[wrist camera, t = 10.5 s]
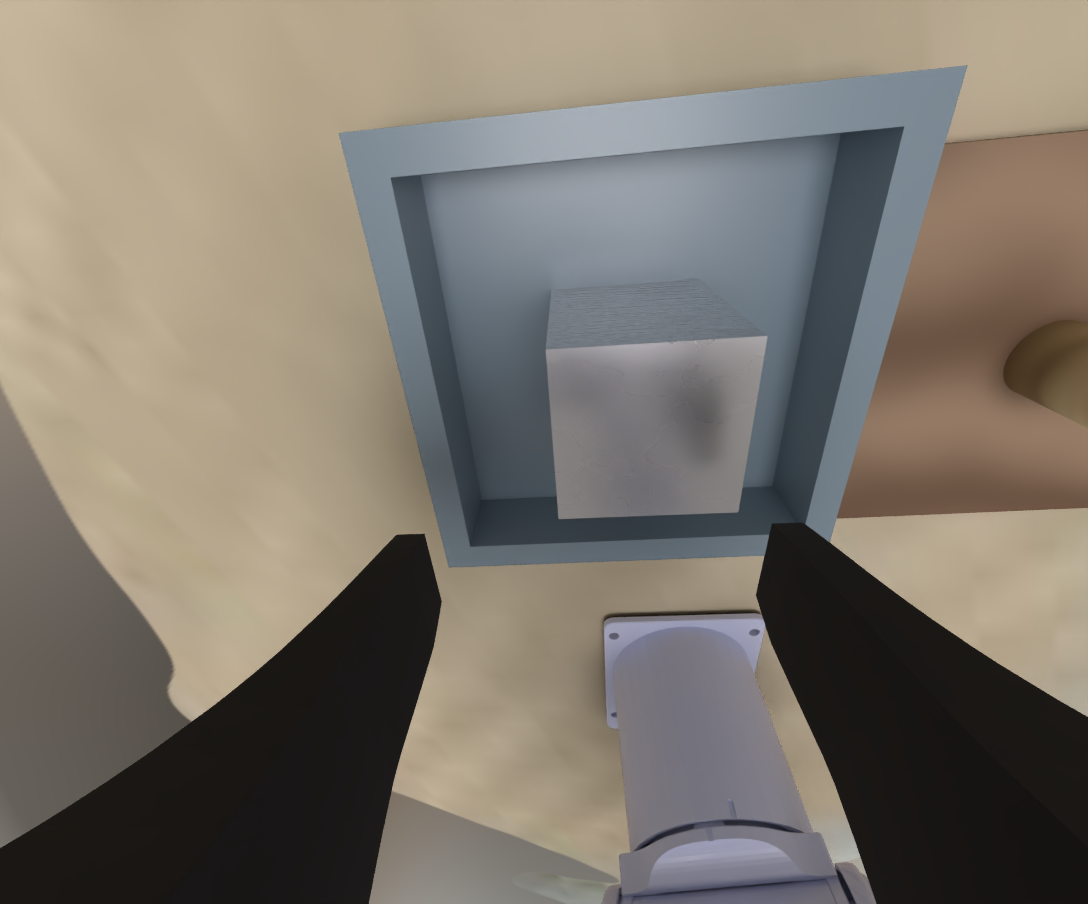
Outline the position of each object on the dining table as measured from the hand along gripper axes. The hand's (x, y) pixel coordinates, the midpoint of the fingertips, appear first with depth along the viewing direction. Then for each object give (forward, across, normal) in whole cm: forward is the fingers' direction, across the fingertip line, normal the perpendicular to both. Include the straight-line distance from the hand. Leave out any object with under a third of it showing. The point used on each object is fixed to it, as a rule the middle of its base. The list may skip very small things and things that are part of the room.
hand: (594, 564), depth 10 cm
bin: (+9, -2, -2) cm, 10 cm away
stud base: (+9, -16, -1) cm, 18 cm away
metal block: (+9, -2, -2) cm, 9 cm away
